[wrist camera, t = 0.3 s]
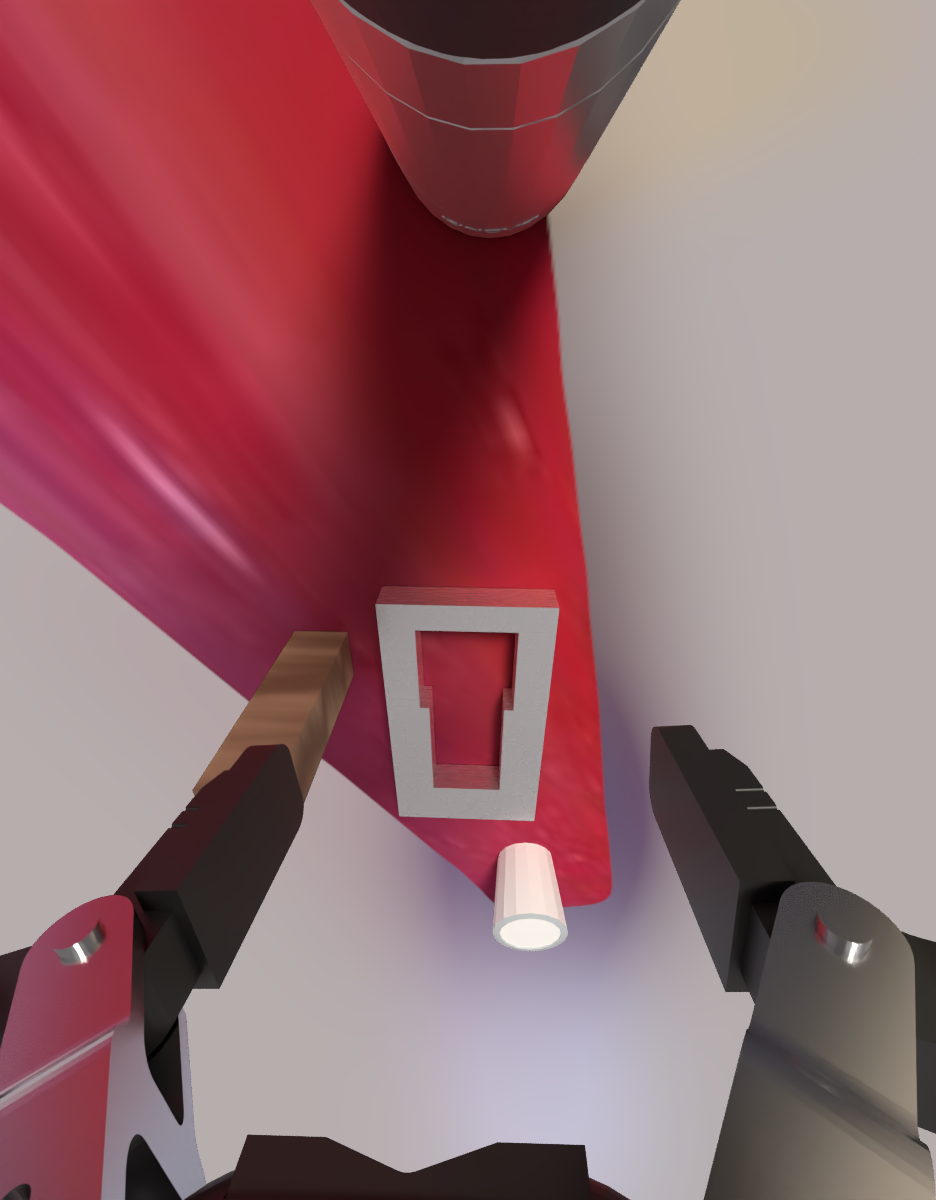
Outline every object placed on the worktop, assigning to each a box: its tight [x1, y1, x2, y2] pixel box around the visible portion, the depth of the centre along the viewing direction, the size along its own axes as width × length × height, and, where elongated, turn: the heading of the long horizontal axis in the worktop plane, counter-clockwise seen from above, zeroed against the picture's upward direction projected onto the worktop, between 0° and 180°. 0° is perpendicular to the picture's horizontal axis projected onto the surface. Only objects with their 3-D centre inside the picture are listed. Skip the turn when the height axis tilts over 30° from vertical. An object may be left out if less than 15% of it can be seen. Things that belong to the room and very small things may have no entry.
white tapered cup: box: [493, 843, 568, 951], centre depth 45 cm, size 7×7×7 cm
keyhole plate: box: [375, 586, 559, 821], centre depth 37 cm, size 22×12×2 cm, turn 0°
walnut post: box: [193, 631, 354, 803], centre depth 30 cm, size 4×4×14 cm
